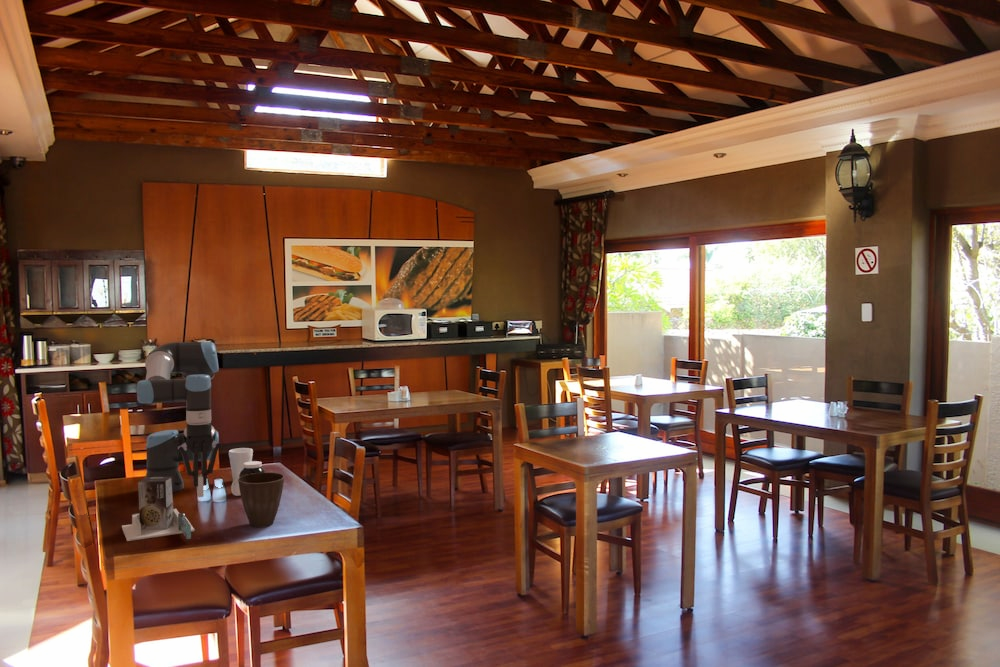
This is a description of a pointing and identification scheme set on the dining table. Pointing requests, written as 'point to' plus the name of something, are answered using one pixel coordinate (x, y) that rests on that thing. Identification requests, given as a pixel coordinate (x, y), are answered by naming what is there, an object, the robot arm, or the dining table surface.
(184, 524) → the ball knob lever
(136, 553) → the dining table surface
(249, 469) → the spread jar
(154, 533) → the white shallow tray
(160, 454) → the robot arm
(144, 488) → the coffee box
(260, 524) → the plant pot
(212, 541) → the dining table surface
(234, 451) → the foam cup
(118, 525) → the dining table surface
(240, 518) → the dining table surface
